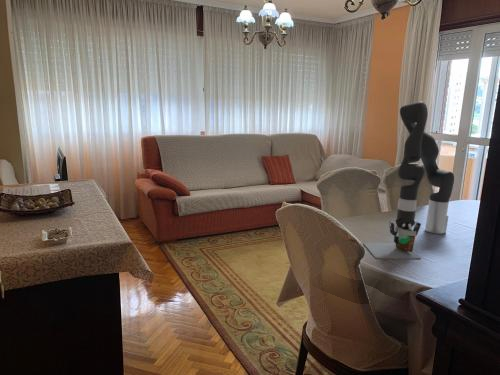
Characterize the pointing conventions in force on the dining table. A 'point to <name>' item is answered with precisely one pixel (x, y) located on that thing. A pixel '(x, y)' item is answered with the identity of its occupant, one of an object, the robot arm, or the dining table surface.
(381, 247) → the felt mat
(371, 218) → the dining table surface
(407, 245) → the food container
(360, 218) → the dining table surface
